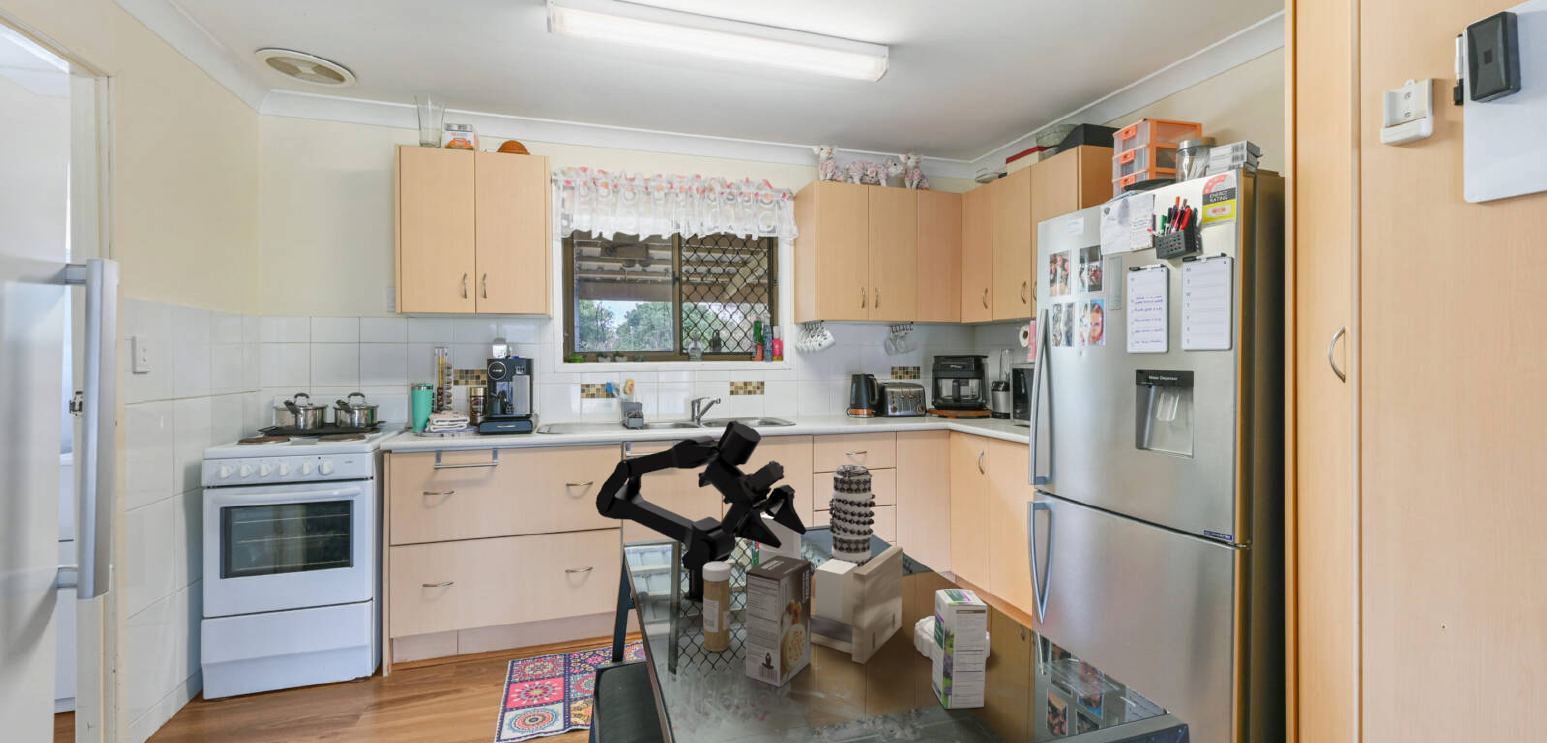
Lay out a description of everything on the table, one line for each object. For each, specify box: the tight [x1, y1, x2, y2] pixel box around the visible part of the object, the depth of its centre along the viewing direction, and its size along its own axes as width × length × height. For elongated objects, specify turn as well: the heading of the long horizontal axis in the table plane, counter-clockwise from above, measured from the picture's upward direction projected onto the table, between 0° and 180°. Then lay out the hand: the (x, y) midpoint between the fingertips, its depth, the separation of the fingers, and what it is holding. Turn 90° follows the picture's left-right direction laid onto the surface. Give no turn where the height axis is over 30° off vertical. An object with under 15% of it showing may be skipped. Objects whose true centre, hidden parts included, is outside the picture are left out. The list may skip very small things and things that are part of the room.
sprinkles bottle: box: [702, 561, 732, 653], centre depth 105 cm, size 5×5×14 cm
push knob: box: [811, 559, 858, 625], centre depth 112 cm, size 6×6×10 cm
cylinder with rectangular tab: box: [758, 513, 802, 565], centre depth 139 cm, size 9×9×12 cm
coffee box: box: [745, 555, 812, 688], centre depth 98 cm, size 9×6×16 cm
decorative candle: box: [828, 464, 876, 569], centre depth 129 cm, size 9×9×25 cm
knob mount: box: [811, 545, 904, 665], centre depth 110 cm, size 12×16×14 cm
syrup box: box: [931, 588, 988, 710], centre depth 91 cm, size 6×6×14 cm
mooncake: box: [913, 615, 991, 661], centre depth 106 cm, size 12×12×4 cm
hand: (793, 539), depth 116 cm, fingers open, 9 cm apart
